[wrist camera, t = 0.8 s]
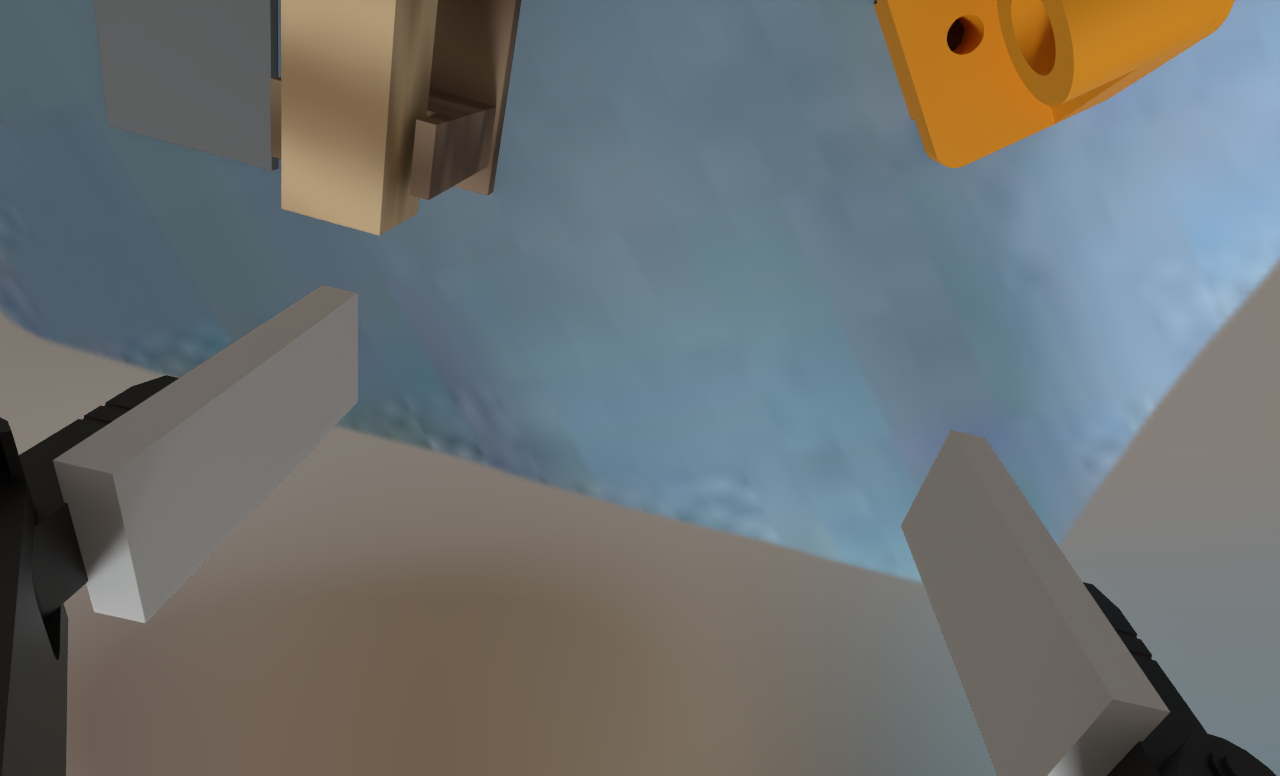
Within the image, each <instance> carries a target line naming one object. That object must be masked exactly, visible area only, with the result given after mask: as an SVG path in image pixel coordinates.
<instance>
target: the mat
mask: <svg viewBox="0 0 1280 776" xmlns="http://www.w3.org/2000/svg"><path fill="white" fill-rule="evenodd" d="M94 8H95V16H96V25H97V33H98V42H99V50H100V59H101V67H102V75H103V84H104V92H105V101H106V109H107V118H108V125H109V126H113V127H117V128H120V129H124V130H127V131H131V132H135V133H138V134H142V135H145V136H149V137H153V138H156V139H160V140H163V141H167V142H171V143H174V144H178V145H182V146H185V147H189V148H192V149H196V150H200V151H203V152H207V153H210V154H214V155H218V156H221V157H225V158H228V159H232V160H236V161H239V162H243V163H246V164H250V165H254V166H257V167H261V168H264V169H268V170H275V169H278V158H275V157H272V156H271V115H270V78H278V58H277V0H94Z"/></svg>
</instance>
